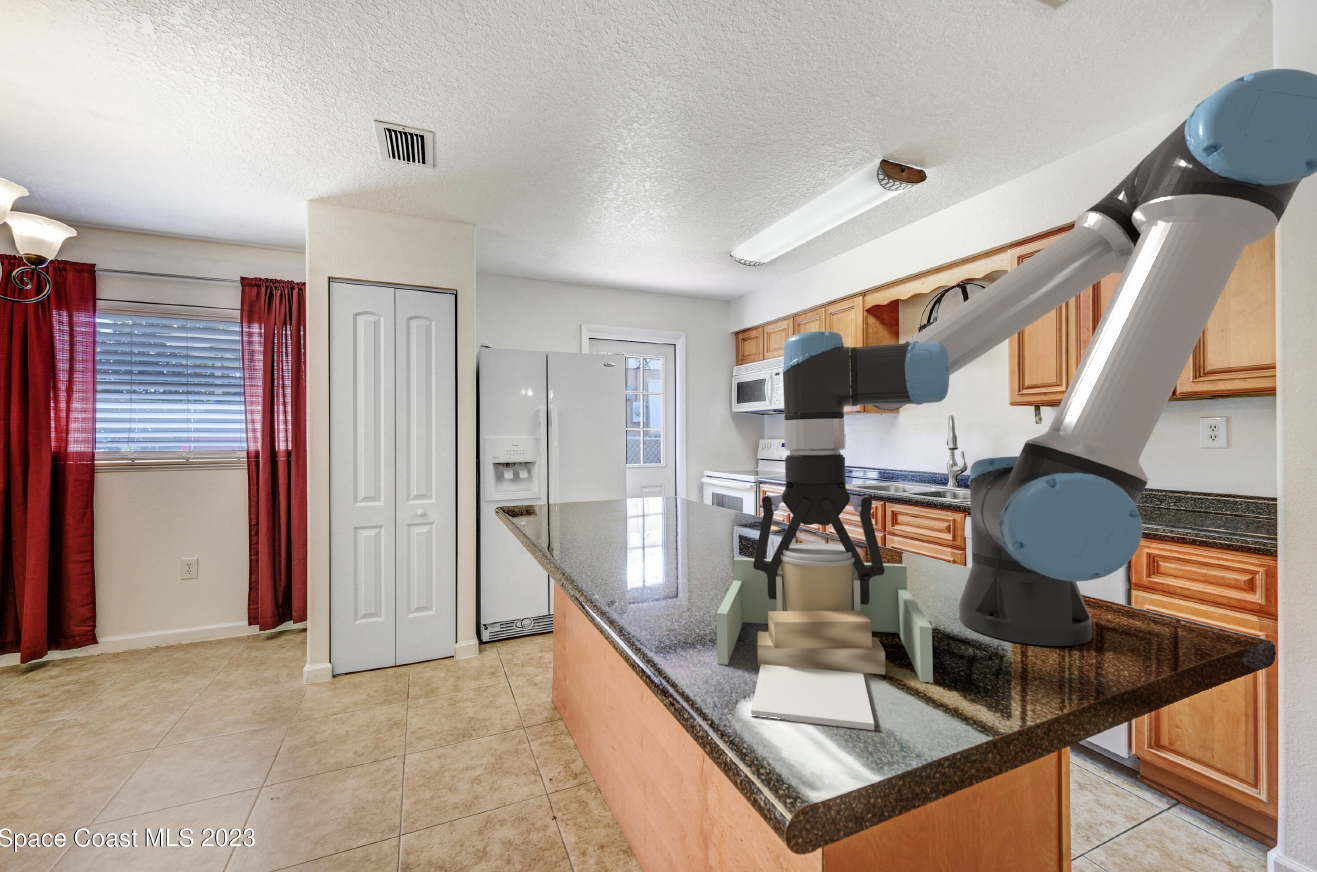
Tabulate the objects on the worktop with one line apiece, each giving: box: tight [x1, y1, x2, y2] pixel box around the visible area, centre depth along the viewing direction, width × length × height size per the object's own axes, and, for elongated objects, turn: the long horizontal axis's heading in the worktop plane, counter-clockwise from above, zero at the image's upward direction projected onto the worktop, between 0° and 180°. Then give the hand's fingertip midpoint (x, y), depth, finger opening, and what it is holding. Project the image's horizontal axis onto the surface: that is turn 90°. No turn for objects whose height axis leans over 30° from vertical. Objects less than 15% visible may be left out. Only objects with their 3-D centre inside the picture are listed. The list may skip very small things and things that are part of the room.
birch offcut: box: [756, 631, 886, 675], centre depth 65 cm, size 14×4×3 cm, turn 79°
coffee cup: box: [781, 542, 854, 611], centre depth 72 cm, size 9×9×12 cm
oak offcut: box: [767, 610, 873, 649], centre depth 65 cm, size 11×4×3 cm, turn 89°
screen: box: [716, 557, 934, 684], centre depth 70 cm, size 23×17×9 cm
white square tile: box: [750, 664, 875, 731], centre depth 56 cm, size 11×11×1 cm
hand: (818, 626), depth 72 cm, fingers closed on coffee cup, 9 cm apart
